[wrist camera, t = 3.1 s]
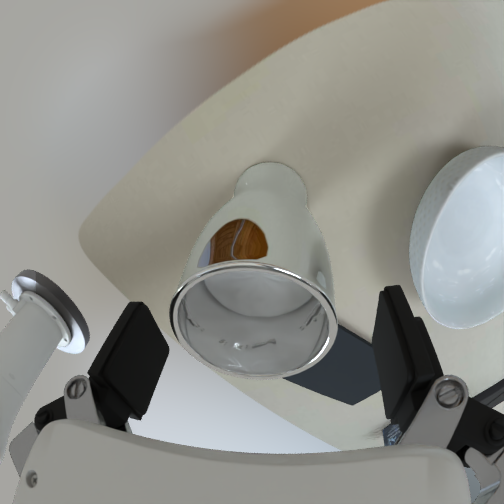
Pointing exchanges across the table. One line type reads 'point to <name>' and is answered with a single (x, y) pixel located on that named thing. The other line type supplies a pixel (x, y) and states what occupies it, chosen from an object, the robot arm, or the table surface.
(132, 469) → the robot arm
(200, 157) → the table surface
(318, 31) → the table surface
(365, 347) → the placemat
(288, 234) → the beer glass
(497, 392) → the picture frame
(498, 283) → the cereal bowl
